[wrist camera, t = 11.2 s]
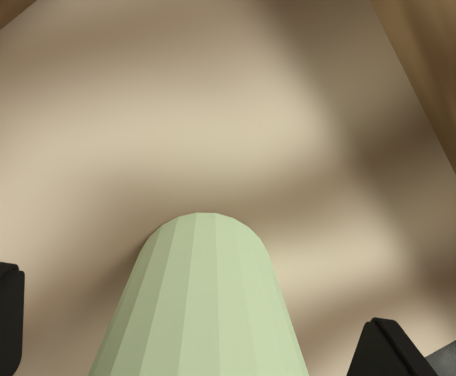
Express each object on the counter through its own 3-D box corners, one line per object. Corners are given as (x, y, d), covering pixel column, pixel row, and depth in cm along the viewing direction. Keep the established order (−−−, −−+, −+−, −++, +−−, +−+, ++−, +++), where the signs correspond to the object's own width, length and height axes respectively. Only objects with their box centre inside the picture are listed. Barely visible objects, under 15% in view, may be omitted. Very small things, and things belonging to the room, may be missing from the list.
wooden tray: (536, 282, 15) (652, 354, 11) (149, 496, 17) (131, 616, 13) (285, -257, 9) (337, -489, 6) (-220, 162, 12) (-424, 200, 8)
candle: (147, 336, 14) (65, 667, 6) (125, 218, 12) (-21, 448, 5) (274, 323, 14) (355, 632, 6) (266, 204, 13) (360, 406, 5)
